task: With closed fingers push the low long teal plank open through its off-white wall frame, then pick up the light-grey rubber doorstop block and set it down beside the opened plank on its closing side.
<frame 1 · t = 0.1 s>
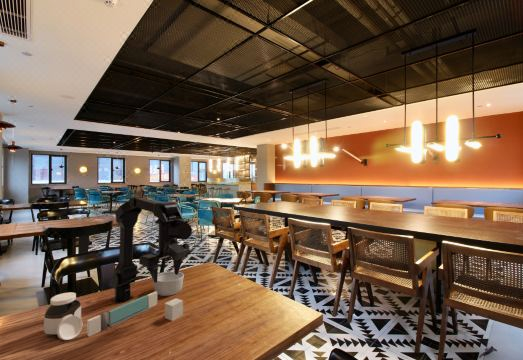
hand: (166, 278, 97), 15 cm above the table, fingers open, 9 cm apart
long teal plank: (129, 309, 97), point 3 cm above the table, hinge at 0.0°
ramekin: (168, 291, 120), on the table
spread jar: (66, 333, 87), on the table
doorstop: (174, 316, 98), on the table
door frame: (104, 328, 89), on the table
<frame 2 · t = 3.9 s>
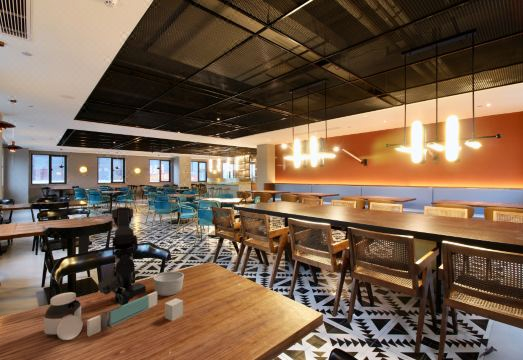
hand: (123, 308, 97), 3 cm above the table, fingers closed
long teal plank: (129, 309, 97), point 3 cm above the table, hinge at 0.6°, touching gripper
everything else where it was.
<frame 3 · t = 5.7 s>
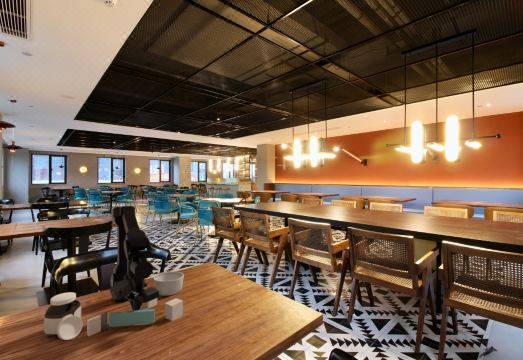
hand: (135, 313, 93), 3 cm above the table, fingers closed
long teal plank: (132, 317, 91), point 3 cm above the table, hinge at 48.5°, touching gripper
everything else where it was.
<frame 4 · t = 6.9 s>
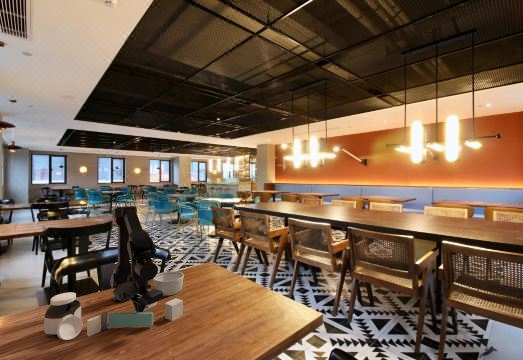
hand: (139, 315, 92), 3 cm above the table, fingers closed
long teal plank: (131, 319, 90), point 3 cm above the table, hinge at 56.0°, touching gripper
everything else where it was.
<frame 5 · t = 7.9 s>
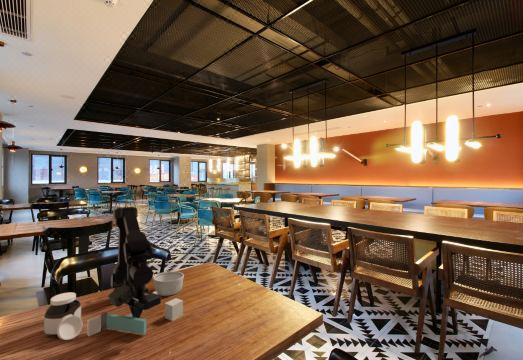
hand: (136, 320, 89), 3 cm above the table, fingers closed
long teal plank: (126, 323, 87), point 3 cm above the table, hinge at 73.0°, touching gripper
everything else where it was.
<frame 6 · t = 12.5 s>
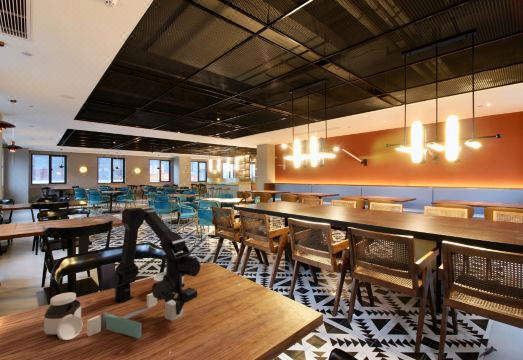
hand: (174, 313, 98), 1 cm above the table, fingers closed on doorstop, 4 cm apart
long teal plank: (123, 325, 86), point 3 cm above the table, hinge at 80.9°
doorstop: (174, 316, 98), on the table, touching gripper
everything else where it was.
when the fingers open (3 cm above the table, at t = 16.4 s): doorstop drops 1 cm, on the table.
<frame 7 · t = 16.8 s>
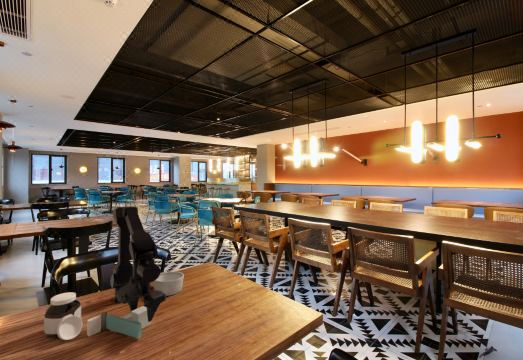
hand: (141, 317, 92), 3 cm above the table, fingers open, 9 cm apart
doorstop: (141, 325, 92), on the table
everything else where it was.
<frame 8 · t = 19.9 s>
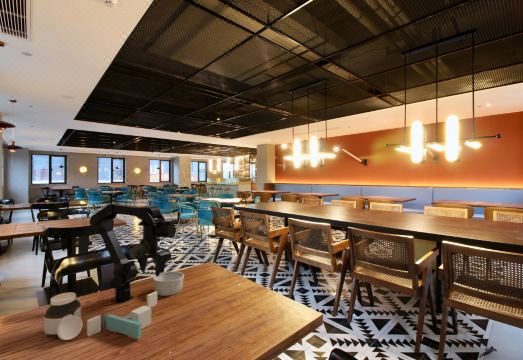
hand: (150, 274, 108), 12 cm above the table, fingers open, 9 cm apart
nothing on the table moved.
at the end: long teal plank at +81° (first picture: +0°); doorstop inside the target area (0.0 cm from its centre), on the table; doorstop tilted 0° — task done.
